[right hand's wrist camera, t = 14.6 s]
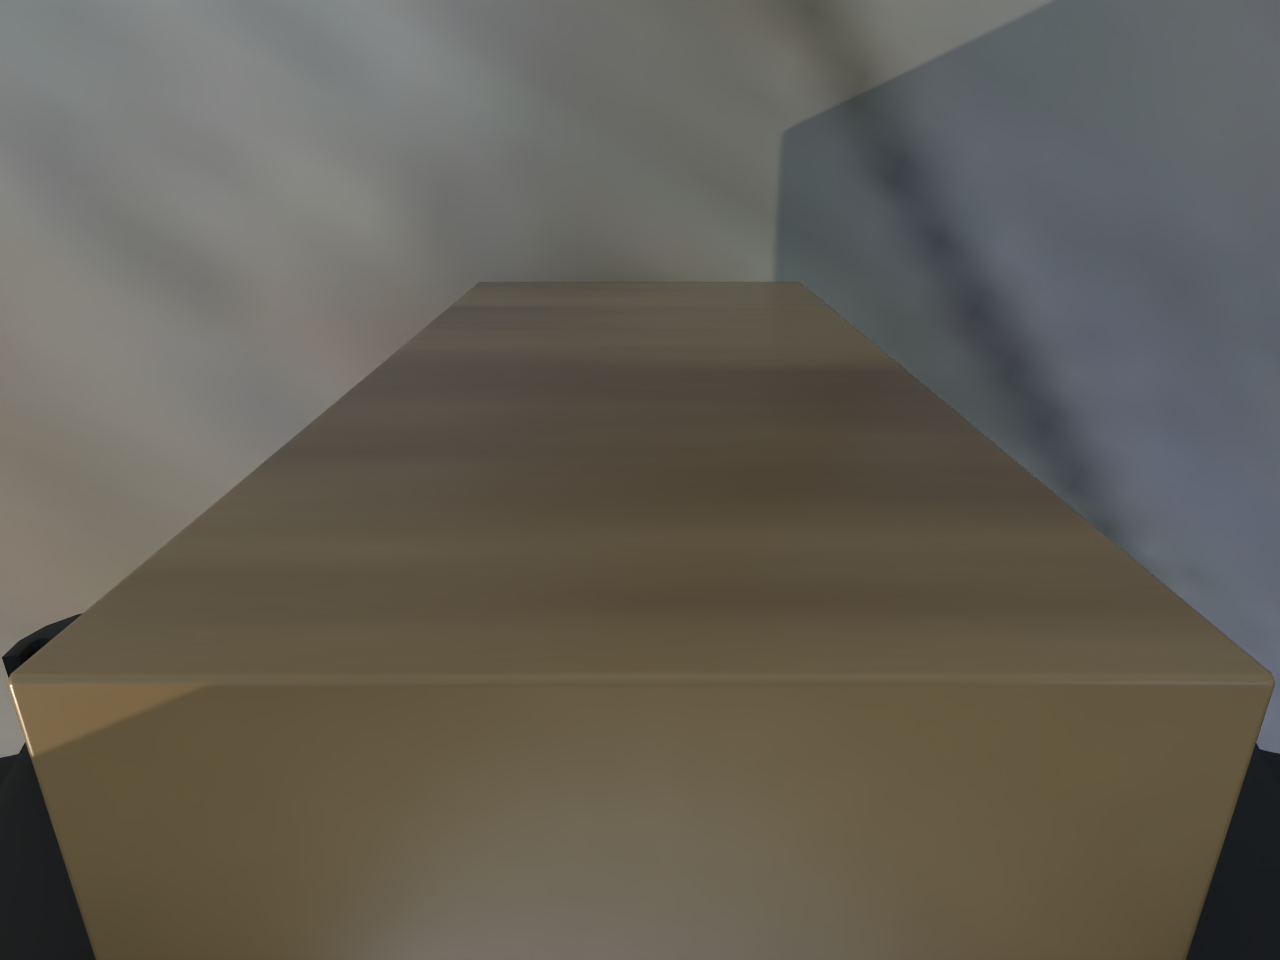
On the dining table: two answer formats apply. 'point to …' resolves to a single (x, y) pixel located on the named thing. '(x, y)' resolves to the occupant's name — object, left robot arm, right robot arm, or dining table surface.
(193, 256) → the dining table surface
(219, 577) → the box
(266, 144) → the dining table surface
